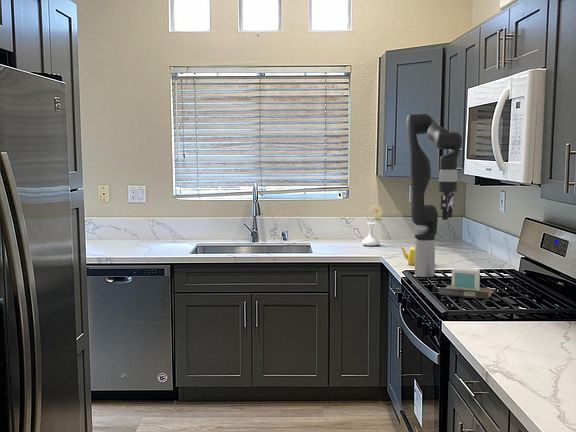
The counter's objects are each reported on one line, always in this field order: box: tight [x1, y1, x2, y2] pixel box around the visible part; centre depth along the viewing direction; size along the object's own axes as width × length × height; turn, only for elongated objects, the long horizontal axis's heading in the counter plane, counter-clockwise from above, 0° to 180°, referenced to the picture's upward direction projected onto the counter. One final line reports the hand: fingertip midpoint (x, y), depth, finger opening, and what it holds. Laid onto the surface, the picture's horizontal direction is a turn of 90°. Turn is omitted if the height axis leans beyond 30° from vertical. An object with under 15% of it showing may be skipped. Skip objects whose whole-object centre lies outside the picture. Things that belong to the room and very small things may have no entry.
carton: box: [451, 266, 481, 291], centre depth 248 cm, size 5×10×10 cm, turn 64°
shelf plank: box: [438, 284, 496, 300], centre depth 253 cm, size 18×19×4 cm
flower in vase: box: [361, 204, 384, 247], centre depth 379 cm, size 13×11×25 cm
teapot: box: [399, 246, 415, 267], centre depth 320 cm, size 15×14×10 cm
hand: (447, 218), depth 262 cm, fingers open, 8 cm apart
